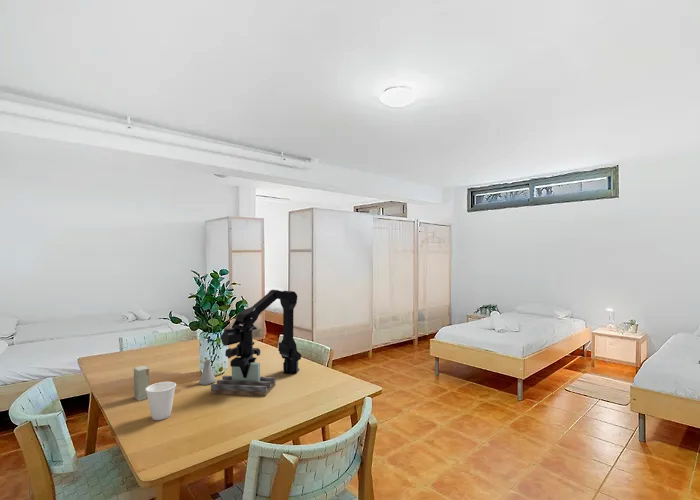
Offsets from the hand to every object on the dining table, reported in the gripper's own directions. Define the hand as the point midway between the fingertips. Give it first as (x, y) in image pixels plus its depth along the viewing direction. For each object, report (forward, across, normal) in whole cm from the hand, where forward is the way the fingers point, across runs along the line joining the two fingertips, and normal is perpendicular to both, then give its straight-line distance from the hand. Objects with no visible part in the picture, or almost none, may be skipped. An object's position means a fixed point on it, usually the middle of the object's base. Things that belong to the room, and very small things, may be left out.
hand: (246, 376), depth 160 cm
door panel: (+2, 0, 0) cm, 2 cm away
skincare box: (+5, +16, -38) cm, 41 cm away
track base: (+4, +3, 0) cm, 5 cm away
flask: (+5, -3, -20) cm, 21 cm away
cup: (+5, +31, -19) cm, 36 cm away
